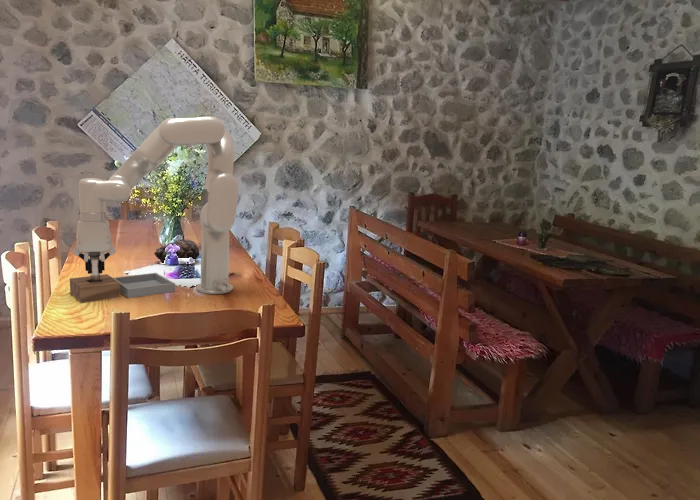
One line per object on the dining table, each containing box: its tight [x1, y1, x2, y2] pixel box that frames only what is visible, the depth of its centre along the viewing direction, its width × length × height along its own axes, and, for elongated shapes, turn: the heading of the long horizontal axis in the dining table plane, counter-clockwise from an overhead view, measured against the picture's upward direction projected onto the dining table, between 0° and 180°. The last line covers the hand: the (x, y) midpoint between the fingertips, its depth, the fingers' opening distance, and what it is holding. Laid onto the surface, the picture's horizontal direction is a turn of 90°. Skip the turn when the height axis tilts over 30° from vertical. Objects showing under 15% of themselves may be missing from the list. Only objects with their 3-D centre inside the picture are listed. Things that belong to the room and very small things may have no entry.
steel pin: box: [88, 252, 101, 283], centre depth 191 cm, size 4×4×14 cm
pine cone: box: [153, 239, 200, 263], centre depth 239 cm, size 10×18×10 cm, turn 115°
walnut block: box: [69, 273, 121, 304], centre depth 192 cm, size 12×12×5 cm
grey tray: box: [112, 272, 176, 299], centre depth 202 cm, size 16×16×3 cm
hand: (95, 272), depth 191 cm, fingers closed on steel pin, 3 cm apart
